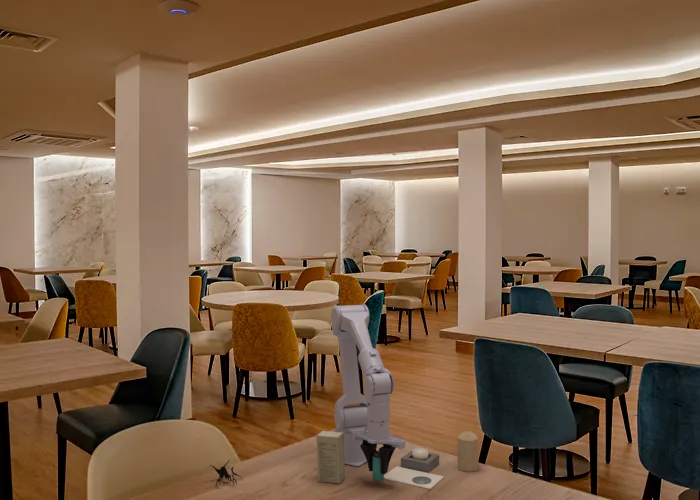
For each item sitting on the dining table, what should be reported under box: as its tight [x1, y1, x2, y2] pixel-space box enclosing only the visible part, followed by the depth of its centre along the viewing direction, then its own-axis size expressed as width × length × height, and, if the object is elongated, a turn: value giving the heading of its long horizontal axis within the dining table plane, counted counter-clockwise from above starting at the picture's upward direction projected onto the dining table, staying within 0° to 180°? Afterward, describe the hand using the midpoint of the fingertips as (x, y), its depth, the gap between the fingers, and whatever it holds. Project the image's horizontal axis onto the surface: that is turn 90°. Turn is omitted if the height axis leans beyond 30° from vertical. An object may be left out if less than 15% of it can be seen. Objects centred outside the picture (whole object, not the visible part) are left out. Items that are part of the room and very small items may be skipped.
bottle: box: [371, 450, 385, 482], centre depth 161 cm, size 3×3×7 cm
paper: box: [384, 466, 445, 490], centre depth 165 cm, size 14×9×1 cm, turn 59°
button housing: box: [400, 450, 440, 473], centre depth 174 cm, size 8×8×3 cm
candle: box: [457, 430, 479, 473], centre depth 172 cm, size 6×6×10 cm
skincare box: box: [316, 430, 346, 484], centre depth 164 cm, size 6×4×12 cm
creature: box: [209, 458, 243, 489], centre depth 162 cm, size 8×5×8 cm
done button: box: [411, 447, 429, 461], centre depth 174 cm, size 4×4×3 cm
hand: (378, 471), depth 161 cm, fingers closed on bottle, 3 cm apart
